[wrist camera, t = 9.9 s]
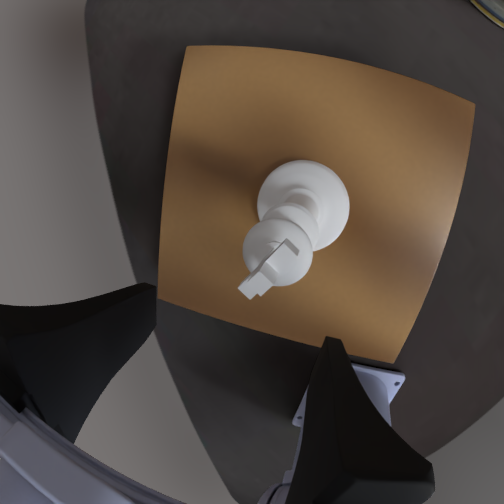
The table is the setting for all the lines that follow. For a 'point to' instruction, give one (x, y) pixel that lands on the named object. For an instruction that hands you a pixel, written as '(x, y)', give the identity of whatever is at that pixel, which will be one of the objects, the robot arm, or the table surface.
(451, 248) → the table surface
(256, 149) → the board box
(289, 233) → the chess piece
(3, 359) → the robot arm
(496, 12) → the apothecary jar
